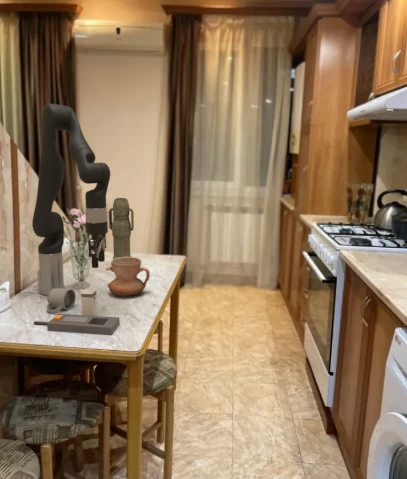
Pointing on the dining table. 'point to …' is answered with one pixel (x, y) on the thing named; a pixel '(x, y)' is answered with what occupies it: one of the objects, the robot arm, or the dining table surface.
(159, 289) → the dining table surface
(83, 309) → the block
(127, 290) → the ceramic jug
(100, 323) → the power strip
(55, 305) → the ceramic mug
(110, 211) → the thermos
